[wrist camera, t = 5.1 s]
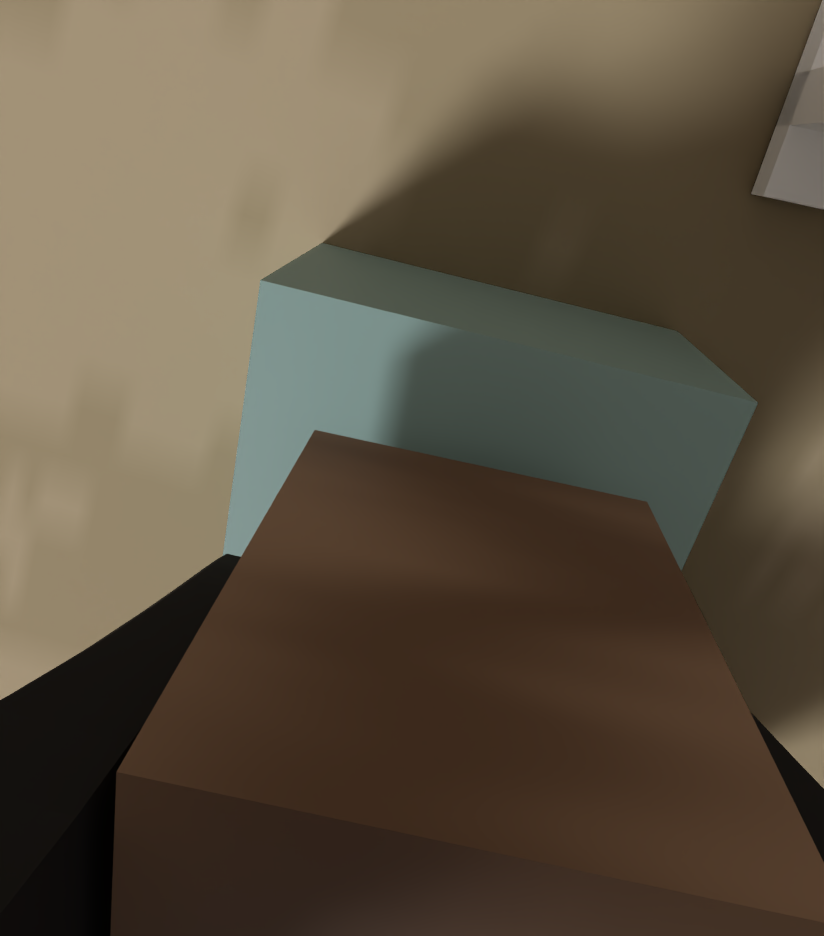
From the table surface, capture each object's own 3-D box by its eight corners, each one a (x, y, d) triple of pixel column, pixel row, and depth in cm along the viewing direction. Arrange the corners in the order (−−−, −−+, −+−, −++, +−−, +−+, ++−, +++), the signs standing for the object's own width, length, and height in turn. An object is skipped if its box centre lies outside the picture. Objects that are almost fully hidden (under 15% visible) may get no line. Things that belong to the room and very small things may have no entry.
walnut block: (647, 501, 9) (857, 930, 4) (552, 749, 11) (619, 1260, 6) (315, 430, 9) (116, 772, 4) (274, 689, 11) (102, 1151, 6)
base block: (674, 328, 14) (758, 402, 10) (563, 615, 17) (592, 766, 13) (324, 242, 14) (260, 280, 10) (272, 546, 17) (206, 676, 13)
